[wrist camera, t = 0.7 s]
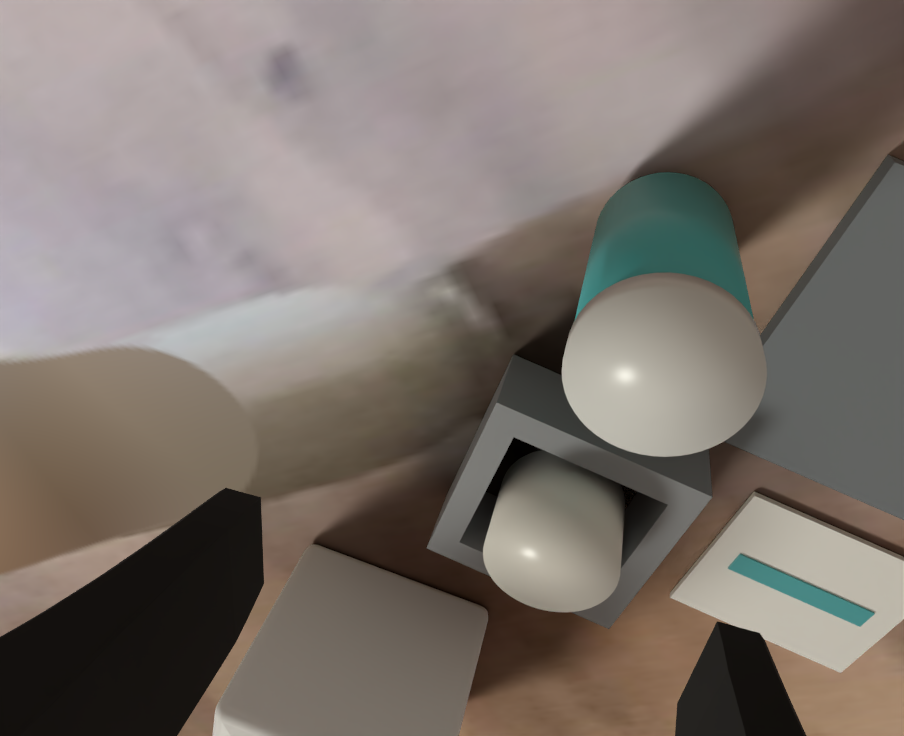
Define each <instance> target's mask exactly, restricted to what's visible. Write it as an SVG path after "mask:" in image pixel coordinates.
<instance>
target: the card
mask: <svg viewBox="0 0 904 736" xmlns="http://www.w3.org/2000/svg"><path fill="white" fill-rule="evenodd" d="M670 598H672V599H675V600H677V601H679V602H681V603H684V604H686V605H688V606H690V607H693V608H695V609H697V610H699V611H702V612H704V613H706V614H708V615H711V616H713V617H715V618H718V619H720V620H722V621H724V622H727V623H729V624H731V625H733V626H736V627H739V628H743V629H747V630H750V631H754V632H758V633H760V634H761V635H762V637H763V639H765V640H767V641H770V642H772V643H774V644H776V645H779V646H781V647H783V648H785V649H788V650H790V651H792V652H795V653H797V654H799V655H801V656H804V657H806V658H808V659H810V660H813V661H815V662H817V663H819V664H822V665H824V666H826V667H829V668H831V669H833V670H835V671H838V672H840V673H841V672H842V671H843V670H845V669H846V668H847V667H848V666H849V665H850V664H852V663H853V662H854V661H855V660H856V659H858V658H859V657H860V656H861V655H862V654H863V653H865V652H866V651H867V650H868V649H869V648H870V647H872V646H873V645H874V644H875V643H876V642H877V641H879V640H880V639H881V638H882V637H883V636H884V635H886V634H887V633H888V632H889V631H890V630H891V629H893V628H894V627H895V626H896V625H897V624H898V623H900V622H901V621H902V620H903V619H904V557H903V556H901V555H898V554H896V553H894V552H892V551H889V550H887V549H885V548H882V547H880V546H878V545H876V544H873V543H871V542H869V541H866V540H864V539H862V538H860V537H857V536H855V535H853V534H850V533H848V532H846V531H844V530H841V529H839V528H837V527H834V526H832V525H830V524H828V523H825V522H823V521H821V520H818V519H816V518H814V517H812V516H809V515H807V514H805V513H802V512H800V511H798V510H796V509H793V508H791V507H789V506H786V505H784V504H782V503H780V502H777V501H775V500H773V499H770V498H768V497H766V496H763V495H761V494H759V493H757V492H753V493H752V494H751V496H750V497H749V498H748V499H747V500H746V502H745V503H744V504H743V505H742V506H741V508H740V509H739V510H738V511H737V512H736V514H735V515H734V516H733V517H732V519H731V520H730V521H729V522H728V523H727V525H726V526H725V527H724V528H723V529H722V531H721V532H720V533H719V534H718V535H717V537H716V538H715V539H714V540H713V542H712V543H711V544H710V545H709V546H708V548H707V549H706V550H705V551H704V552H703V554H702V555H701V556H700V557H699V558H698V560H697V561H696V562H695V563H694V565H693V566H692V567H691V568H690V569H689V571H688V572H687V573H686V574H685V575H684V577H683V578H682V579H681V580H680V581H679V583H678V584H677V585H676V586H675V587H674V589H673V590H672V591H671V592H670Z"/></svg>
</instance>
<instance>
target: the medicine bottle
mask: <svg viewBox="0 0 904 736" xmlns="http://www.w3.org/2000/svg"><path fill="white" fill-rule="evenodd" d="M487 622H488V611H487V610H486V609H485V608H484V607H482V606H480V605H478V604H475V603H472V602H470V601H467V600H464V599H461V598H459V597H456V596H453V595H451V594H448V593H445V592H443V591H440V590H437V589H435V588H432V587H429V586H427V585H424V584H421V583H419V582H416V581H413V580H411V579H408V578H405V577H403V576H400V575H397V574H395V573H392V572H389V571H387V570H384V569H381V568H379V567H376V566H373V565H370V564H368V563H365V562H362V561H360V560H357V559H354V558H352V557H349V556H346V555H344V554H341V553H338V552H336V551H333V550H330V549H328V548H325V547H322V546H320V545H315V544H313V545H309V546H308V547H307V548H306V550H305V551H304V553H303V555H302V556H301V558H300V560H299V562H298V564H297V565H296V567H295V569H294V571H293V572H292V574H291V576H290V578H289V579H288V581H287V583H286V585H285V586H284V588H283V590H282V592H281V593H280V595H279V597H278V599H277V600H276V602H275V604H274V606H273V607H272V609H271V611H270V613H269V614H268V616H267V618H266V620H265V622H264V623H263V625H262V627H261V629H260V630H259V632H258V634H257V636H256V637H255V639H254V641H253V643H252V644H251V646H250V648H249V650H248V651H247V653H246V655H245V657H244V658H243V660H242V662H241V664H240V665H239V667H238V669H237V671H236V672H235V674H234V676H233V678H232V680H231V681H230V683H229V685H228V687H227V688H226V690H225V692H224V694H223V695H222V697H221V699H220V701H219V702H218V704H217V706H216V710H215V717H214V727H213V736H459V733H460V729H461V725H462V721H463V717H464V713H465V709H466V705H467V701H468V697H469V693H470V689H471V685H472V681H473V678H474V674H475V670H476V666H477V662H478V658H479V654H480V650H481V646H482V642H483V638H484V634H485V630H486V626H487Z"/></svg>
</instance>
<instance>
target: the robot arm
mask: <svg viewBox="0 0 904 736" xmlns="http://www.w3.org/2000/svg"><path fill="white" fill-rule="evenodd" d="M263 584H264V573H263V547H262V520H261V497H257V496H254V495H250V494H246V493H243V492H239V491H235V490H232V489H228V488H225V489H223V490H222V491H220V492H218V493H217V494H216V495H214V496H213V497H211V498H210V499H209V500H207V501H206V502H204V503H203V504H202V505H200V506H199V507H198V508H196V509H195V510H193V511H192V512H191V513H189V514H188V515H187V516H185V517H184V518H182V519H181V520H180V521H178V522H177V523H176V524H174V525H173V526H171V527H170V528H169V529H167V530H166V531H164V532H163V533H162V534H160V535H159V536H157V537H156V538H155V539H153V540H152V541H151V542H149V543H148V544H146V545H145V546H143V547H142V548H140V549H139V550H138V551H136V552H135V553H133V554H132V555H130V556H129V557H127V558H126V559H124V560H123V561H121V562H120V563H119V564H117V565H116V566H114V567H113V568H111V569H110V570H108V571H107V572H105V573H104V574H102V575H101V576H99V577H98V578H96V579H95V580H93V581H92V582H90V583H89V584H87V585H85V586H84V587H82V588H81V589H79V590H77V591H76V592H74V593H73V594H71V595H70V596H68V597H66V598H65V599H63V600H62V601H60V602H58V603H57V604H55V605H54V606H52V607H50V608H49V609H47V610H46V611H44V612H42V613H41V614H39V615H37V616H36V617H34V618H32V619H31V620H29V621H27V622H25V623H24V624H22V625H20V626H19V627H17V628H15V629H13V630H12V631H10V632H8V633H6V634H5V635H3V636H1V637H0V736H177V735H178V733H179V732H180V730H181V729H182V727H183V726H184V724H185V722H186V721H187V719H188V718H189V716H190V714H191V713H192V711H193V710H194V708H195V707H196V705H197V703H198V702H199V700H200V699H201V697H202V696H203V694H204V692H205V691H206V689H207V688H208V686H209V684H210V683H211V681H212V680H213V678H214V676H215V675H216V673H217V672H218V670H219V668H220V667H221V665H222V664H223V662H224V660H225V659H226V657H227V656H228V654H229V652H230V651H231V649H232V647H233V646H234V644H235V643H236V641H237V639H238V637H239V635H240V633H241V631H242V629H243V627H244V625H245V623H246V621H247V619H248V616H249V614H250V612H251V610H252V608H253V606H254V604H255V601H256V599H257V597H258V595H259V593H260V591H261V589H262V586H263ZM675 736H806V734H805V732H804V730H803V727H802V725H801V723H800V721H799V719H798V716H797V714H796V712H795V710H794V708H793V705H792V703H791V701H790V699H789V696H788V694H787V692H786V689H785V687H784V685H783V683H782V680H781V678H780V676H779V673H778V671H777V669H776V666H775V664H774V661H773V659H772V657H771V654H770V652H769V650H768V647H767V645H766V642H765V640H764V639H763V637H762V635H761V634H760V633H758V632H754V631H750V630H747V629H743V628H739V627H736V626H732V625H728V624H725V623H721V622H717V623H716V625H715V627H714V629H713V631H712V633H711V635H710V637H709V639H708V641H707V643H706V646H705V648H704V650H703V652H702V654H701V656H700V658H699V660H698V662H697V664H696V666H695V668H694V670H693V672H692V674H691V676H690V678H689V681H688V683H687V685H686V687H685V689H684V691H683V693H682V695H681V697H680V699H679V701H678V703H677V717H676V731H675Z"/></svg>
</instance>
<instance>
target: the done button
mask: <svg viewBox="0 0 904 736" xmlns="http://www.w3.org/2000/svg"><path fill="white" fill-rule="evenodd" d="M624 516H625V496H624V492H623V489H622V487H621V485H620V484H619V483H617V482H615V481H613V480H610V479H608V478H606V477H603V476H601V475H599V474H597V473H594V472H592V471H590V470H588V469H585V468H583V467H581V466H578V465H576V464H574V463H572V462H569V461H567V460H565V459H562V458H560V457H558V456H556V455H553V454H551V453H549V452H546V451H544V450H540V451H536V452H533V453H530V454H527V455H525V456H523V457H522V458H520V459H518V460H517V461H516V462H515V463H513V464H512V465H511V467H510V468H509V469H508V470H507V472H506V473H505V476H504V478H503V481H502V484H501V487H500V491H499V494H498V498H497V501H496V504H495V508H494V511H493V515H492V518H491V522H490V525H489V528H488V532H487V535H486V539H485V542H484V547H483V559H484V564H485V567H486V569H487V571H488V573H489V575H490V576H491V578H492V580H493V581H494V582H495V583H496V584H497V585H498V586H499V587H500V588H501V589H502V590H503V591H504V592H505V593H507V594H508V595H509V596H511V597H512V598H514V599H516V600H517V601H519V602H521V603H523V604H526V605H528V606H531V607H534V608H537V609H541V610H546V611H552V612H576V611H582V610H585V609H589V608H592V607H594V606H596V605H598V604H600V603H602V602H603V601H605V600H606V599H607V598H608V597H609V596H610V595H611V594H612V593H613V592H614V590H615V588H616V587H617V585H618V582H619V578H620V571H621V558H622V544H623V530H624Z"/></svg>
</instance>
